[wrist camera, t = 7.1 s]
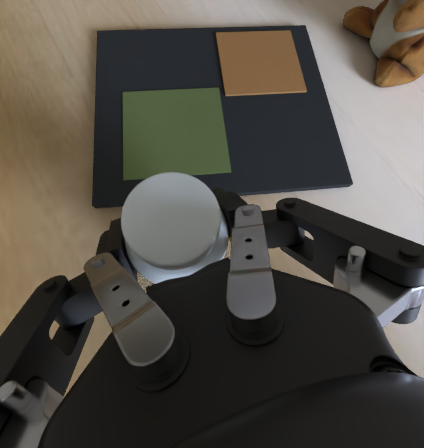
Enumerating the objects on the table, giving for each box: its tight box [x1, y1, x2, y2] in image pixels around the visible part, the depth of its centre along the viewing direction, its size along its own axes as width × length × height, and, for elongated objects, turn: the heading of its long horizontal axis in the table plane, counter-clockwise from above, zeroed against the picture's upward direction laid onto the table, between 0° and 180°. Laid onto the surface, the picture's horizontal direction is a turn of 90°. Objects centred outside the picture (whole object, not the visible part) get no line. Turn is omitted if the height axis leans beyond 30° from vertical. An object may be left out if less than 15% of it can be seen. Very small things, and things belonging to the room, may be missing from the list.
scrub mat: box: [92, 25, 353, 208], centre depth 22 cm, size 22×19×1 cm
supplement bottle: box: [121, 172, 229, 284], centre depth 14 cm, size 5×5×10 cm
